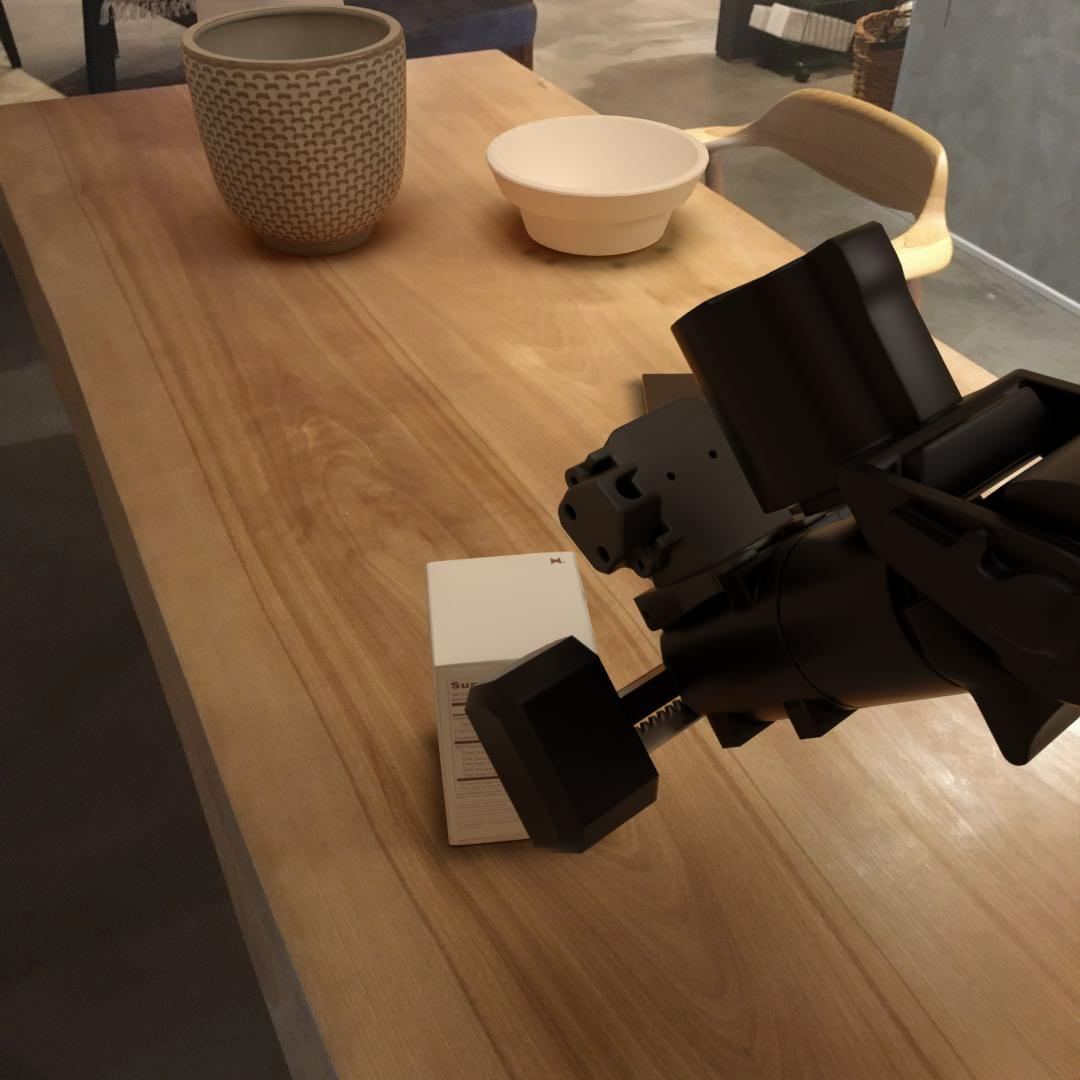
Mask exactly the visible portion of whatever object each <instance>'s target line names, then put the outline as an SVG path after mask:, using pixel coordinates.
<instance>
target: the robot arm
mask: <svg viewBox="0 0 1080 1080" xmlns="http://www.w3.org/2000/svg"><path fill="white" fill-rule="evenodd" d="M670 332H671V334H672V336H673V337H674V339H675V341H676V343H677V345H678V348H679V349H680V352H681V354H682V355H683V358H684V359H685V361H686V363H687V365H688V367H689V369H690V371H691V373H693V375H694V377H695V379H696V381H697V383H698V385H699V387H700V389H701V391H702V393H703V395H704V397H705V399H706V401H707V403H708V404H707V403H706V402H704V401H702V400H700V399H697V398H692V397H684V398H680V399H677V400H675V401H673V402H671V403H668V404H666V405H664V406H662V407H660V408H658V409H656V410H654V411H652V412H650V413H647V414H646V413H645V414H643V415H641V416H639V417H636V418H635V419H633V420H631V421H629V422H627V423H625V424H622V425H621V426H618V427H616V428H615V429H613V431H611V433H610V434H609V436H608V437H607V440H606V441H605V443H604V444H603V446H602V447H600V448H598V449H596V450H594V451H592V452H590V453H589V454H587V456H586V458H585V460H583V461H581V462H580V463H579V462H578V463H577V464H576V465H573V466H571V467H569V468H567V469H566V470H565V472H564V480H565V483H566V486H567V487H568V489H567V490H566V491H565V493H564V495H563V496H562V499H561V501H560V503H559V504H558V507H557V516H558V519H559V524H560V526H561V528H562V529H563V530H564V532H565V533H566V534H567V536H568V537H569V538H570V539H571V540H572V542H573V543H574V544H575V546H576V547H577V548H578V550H579V552H581V553H582V555H583V556H584V558H585V559H586V560H587V561H588V563H589V564H590V565H591V566H592V568H593V569H594V570H595V571H597V572H598V573H600V574H604V575H607V576H610V575H611V574H613V573H615V572H617V571H619V570H621V569H630V570H632V571H633V573H635V574H636V575H637V577H639V578H641V579H645V580H646V579H648V580H650V581H651V583H652V584H653V586H652V587H650V588H649V589H646V590H645V591H644V592H642V593H640V594H638V595H636V596H635V597H633V599H632V600H633V602H634V604H635V606H636V607H637V610H638V611H639V614H640V615H641V617H642V619H643V621H644V623H645V626H646V627H647V629H648V630H649V631H651V632H656V631H660V630H661V631H662V632H661V633H660V636H659V648H660V654H661V658H662V659H661V660H662V662H661V663H660V664H658V665H656V666H655V667H653V668H652V669H650V670H649V671H647V672H645V673H644V674H642V675H641V676H639V677H638V678H636V679H634V680H633V681H630V683H628V684H627V685H625V686H622V688H620V689H619V690H617V689H616V687H615V686H614V684H613V681H612V680H611V677H610V676H609V674H608V671H607V670H606V667H605V666H604V664H603V662H602V660H601V657H600V656H599V654H598V655H597V654H596V653H594V652H593V651H592V650H591V649H589V648H588V647H587V646H586V645H584V644H583V643H582V642H580V641H579V640H578V639H577V638H575V637H574V636H573V635H571V636H568V637H564V638H561V639H558V640H556V641H554V642H552V643H550V644H547V645H545V646H543V647H541V648H539V649H537V650H535V651H533V652H531V653H529V654H527V655H525V656H524V657H522V658H520V659H518V660H517V661H515V662H513V663H512V664H510V665H508V666H506V667H505V668H503V669H501V670H499V671H498V672H496V673H494V674H493V675H491V676H489V677H487V678H486V679H484V680H482V681H480V682H479V683H477V684H475V685H473V686H472V687H470V690H469V694H468V698H467V701H466V705H465V709H464V711H465V713H466V715H467V717H468V719H469V721H470V723H471V725H472V726H473V728H474V730H475V732H476V734H477V736H478V738H479V740H480V742H481V744H482V746H483V748H484V750H485V752H486V754H487V756H488V758H489V760H490V762H491V764H492V766H493V768H494V769H495V771H496V773H497V775H498V777H499V779H500V781H501V783H502V785H503V787H504V789H505V791H506V793H507V795H508V797H509V799H510V801H511V803H512V805H513V807H514V809H515V810H516V812H517V814H518V816H519V818H520V820H521V822H522V824H523V826H524V828H525V830H526V832H527V834H528V836H529V838H530V839H529V840H530V842H531V844H532V846H533V847H534V849H535V848H536V849H539V850H543V851H545V852H546V851H547V852H550V853H553V854H572V855H573V854H575V855H576V854H577V855H582V854H583V853H585V852H586V851H588V850H589V849H590V848H592V847H593V846H594V845H596V844H597V843H599V842H600V841H602V840H603V839H605V838H606V837H607V836H609V835H611V833H613V832H614V831H616V830H617V829H619V828H620V827H621V826H622V825H624V824H626V823H627V822H628V821H630V820H631V819H633V818H634V817H635V816H637V815H639V814H640V813H642V812H643V811H644V810H645V809H647V808H648V807H650V806H651V805H653V804H654V803H655V802H656V801H658V793H659V792H658V791H659V780H660V773H659V772H658V770H657V768H656V766H655V763H654V762H653V760H652V758H651V756H650V754H652V753H653V752H655V751H656V750H657V749H659V748H660V747H662V746H664V745H665V744H667V743H668V742H669V741H671V740H672V739H674V738H675V737H677V736H678V735H680V734H681V733H682V732H684V731H686V730H688V729H689V728H690V727H691V726H693V725H694V724H696V723H698V722H699V721H700V720H703V719H704V718H705V717H706V719H707V721H708V723H709V726H710V727H711V729H712V731H713V734H714V735H715V737H716V739H717V740H718V743H719V744H720V746H721V749H722V750H724V749H732V748H741V747H742V746H744V745H745V744H746V743H748V742H749V741H751V740H752V739H753V738H754V737H756V736H757V735H759V734H760V733H762V732H763V731H764V730H766V729H767V728H769V727H770V726H771V725H773V724H775V722H777V721H782V720H783V721H785V720H789V721H790V723H791V725H792V727H793V729H794V732H795V733H796V735H797V737H798V739H799V740H800V741H801V740H810V739H818V738H822V737H824V736H825V735H826V734H828V733H829V732H830V731H831V730H833V729H835V728H836V727H837V726H838V725H840V724H841V723H842V722H844V721H845V720H846V719H848V718H849V717H850V716H852V715H853V714H855V713H856V712H857V711H858V710H860V709H867V708H874V707H875V708H876V707H881V706H887V705H895V704H901V703H910V702H915V701H923V700H930V699H936V698H943V697H944V698H945V697H950V696H957V695H966V694H969V695H970V696H971V698H972V699H973V701H974V703H975V704H976V706H977V708H978V710H979V712H980V714H981V716H982V718H983V720H984V721H985V724H986V726H987V728H988V730H989V732H990V734H991V736H992V737H993V740H994V741H995V744H996V746H997V747H998V750H999V751H1000V753H1001V755H1002V757H1003V758H1004V760H1005V761H1006V762H1008V764H1010V765H1013V766H1015V767H1022V766H1026V765H1027V764H1029V763H1030V762H1031V761H1032V760H1033V759H1034V758H1035V757H1036V756H1038V755H1039V754H1040V753H1041V752H1042V751H1043V750H1045V749H1046V748H1047V747H1048V746H1050V744H1051V743H1053V742H1054V741H1056V739H1057V738H1058V737H1059V736H1060V735H1062V733H1064V732H1065V731H1066V730H1067V729H1068V728H1069V727H1070V726H1072V725H1073V724H1074V723H1075V722H1076V721H1077V720H1079V718H1080V384H1078V383H1075V382H1073V381H1072V382H1071V381H1067V380H1064V379H1062V378H1061V379H1060V378H1057V377H1055V376H1051V375H1046V374H1043V373H1040V372H1035V371H1033V370H1029V369H1026V368H1021V367H1020V368H1016V369H1014V370H1012V371H1010V372H1008V373H1006V374H1005V375H1003V376H1001V377H1000V378H998V379H996V380H995V381H993V382H991V383H989V384H987V385H986V386H983V387H982V388H980V389H977V390H975V391H973V392H970V393H968V394H966V395H963V396H962V393H961V392H960V390H959V388H958V386H957V384H956V382H955V380H954V378H953V376H952V374H951V372H950V370H949V368H948V366H947V364H946V362H945V360H944V358H943V356H942V355H941V352H940V350H939V349H938V346H937V344H936V343H935V341H934V338H933V337H932V335H931V333H930V331H929V328H928V326H927V325H926V323H925V320H924V318H923V316H922V315H921V313H920V311H919V309H918V307H917V305H916V302H915V301H914V299H913V297H912V294H911V292H910V290H909V287H908V283H907V279H906V276H905V271H904V269H903V265H902V263H901V260H900V258H899V255H898V253H897V251H896V249H895V247H894V244H893V243H892V241H891V239H890V237H889V235H888V234H887V232H886V229H885V228H884V226H883V224H882V223H881V222H878V221H876V220H870V221H868V222H865V223H863V224H861V225H858V226H856V227H853V228H851V229H849V230H847V231H844V232H842V233H840V234H836V235H834V236H832V237H830V238H827V239H825V240H824V241H823V242H821V243H820V244H818V245H817V246H815V247H814V248H812V249H810V250H809V251H808V252H806V253H804V254H803V255H801V256H799V257H797V258H795V259H793V260H791V261H789V262H787V263H785V264H783V265H781V266H780V267H777V268H775V269H773V270H771V271H769V272H768V273H766V274H764V275H762V276H759V277H757V278H755V279H753V280H752V279H751V280H750V281H748V282H746V283H742V284H741V285H738V286H736V287H734V288H731V289H729V290H727V291H724V292H722V293H719V294H717V295H714V296H712V297H709V298H708V299H706V300H704V301H702V302H700V303H699V304H697V305H696V306H694V308H692V309H690V310H689V311H687V312H686V313H685V314H683V315H682V316H681V317H680V318H678V319H677V320H676V321H674V322H673V324H671V325H670ZM1038 458H1041V459H1039V460H1037V462H1035V463H1033V464H1032V465H1030V466H1028V468H1026V469H1025V470H1023V471H1021V472H1020V473H1018V474H1017V475H1015V476H1014V477H1011V476H1012V475H1013V474H1015V473H1016V472H1018V471H1019V470H1021V469H1023V468H1024V467H1025V466H1027V465H1029V464H1031V462H1033V461H1035V460H1036V459H1038ZM1009 477H1011V478H1010V479H1009V480H1007V481H1005V482H1004V483H1003V484H1002V485H1001V486H999V487H998V488H996V489H995V490H993V491H992V492H991V493H990V494H988V495H987V496H985V497H983V496H982V495H983V494H985V493H986V492H988V491H989V490H990V489H993V488H994V487H995V486H997V485H999V484H1000V483H1001V482H1003V481H1004V480H1006V479H1007V478H1009ZM678 697H680V699H678ZM671 702H672V703H671ZM669 703H671V704H669ZM661 708H663V709H661ZM654 713H655V715H654ZM646 718H647V720H648V721H647V720H644V719H646ZM638 723H639V726H638V725H637V724H638ZM636 725H637V726H636ZM1078 1080H1080V1078H1079V1079H1078Z"/></svg>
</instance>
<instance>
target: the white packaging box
mask: <svg viewBox="0 0 1080 1080" xmlns="http://www.w3.org/2000/svg"><path fill="white" fill-rule="evenodd" d="M425 569H426V570H425V571H426V572H425V574H426V575H425V577H426V607H427V626H428V627H427V628H428V639H429V653H430V664H431V665H430V666H431V676H432V677H431V678H432V686H433V688H432V689H433V698H434V709H435V716H436V717H435V718H436V719H435V720H436V729H437V739H438V749H439V751H438V752H439V759H440V760H439V761H440V769H441V778H442V779H441V780H442V786H443V787H442V789H443V797H444V806H445V816H446V824H447V835H448V843H449V845H450V846H463V845H465V846H466V845H478V844H479V845H480V844H485V843H486V844H487V843H498V842H509V841H518V840H528V839H529V840H530V838H529V836H528V834H527V832H526V830H525V828H524V826H523V824H522V822H521V820H520V818H519V816H518V814H517V812H516V810H515V809H514V807H513V805H512V803H511V801H510V799H509V797H508V795H507V793H506V791H505V789H504V787H503V785H502V783H501V781H500V779H499V777H498V775H497V773H496V771H495V769H494V768H493V766H492V764H491V762H490V760H489V758H488V756H487V754H486V752H485V750H484V748H483V746H482V744H481V742H480V740H479V738H478V736H477V734H476V732H475V730H474V728H473V726H472V725H471V723H470V721H469V719H468V717H467V715H466V713H465V711H464V709H465V705H466V701H467V698H468V694H469V690H470V687H472V686H473V685H475V684H477V683H479V682H480V681H482V680H484V679H486V678H487V677H489V676H491V675H493V674H494V673H496V672H498V671H499V670H501V669H503V668H505V667H506V666H508V665H510V664H512V663H513V662H515V661H517V660H518V659H520V658H522V657H524V656H525V655H527V654H529V653H531V652H533V651H535V650H537V649H539V648H541V647H543V646H545V645H547V644H550V643H552V642H554V641H556V640H558V639H561V638H564V637H568V636H571V635H573V636H574V637H575V638H577V639H578V640H579V641H580V642H582V643H583V644H584V645H586V646H587V647H588V648H589V649H591V650H592V651H593V652H594V653H596V654H597V655H598V656H599V651H598V647H597V642H596V638H595V633H594V630H593V625H592V620H591V616H590V612H589V609H588V603H587V602H588V601H587V597H586V594H585V591H584V587H583V583H582V578H581V573H580V569H579V564H578V561H577V556H576V552H574V551H572V550H571V551H548V552H533V553H521V554H508V555H498V556H485V557H484V556H483V557H471V558H462V559H446V560H438V561H431V562H428V563H426V568H425Z"/></svg>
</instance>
